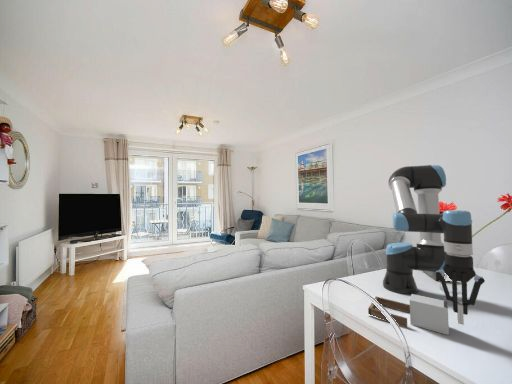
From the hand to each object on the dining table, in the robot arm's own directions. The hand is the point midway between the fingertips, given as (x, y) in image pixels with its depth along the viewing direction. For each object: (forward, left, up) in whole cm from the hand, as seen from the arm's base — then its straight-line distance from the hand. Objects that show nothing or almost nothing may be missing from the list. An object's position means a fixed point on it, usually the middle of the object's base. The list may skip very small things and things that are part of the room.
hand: (460, 322), depth 79 cm
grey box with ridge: (0, -9, -4) cm, 10 cm away
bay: (0, -21, -4) cm, 21 cm away
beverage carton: (-68, -8, -5) cm, 68 cm away
